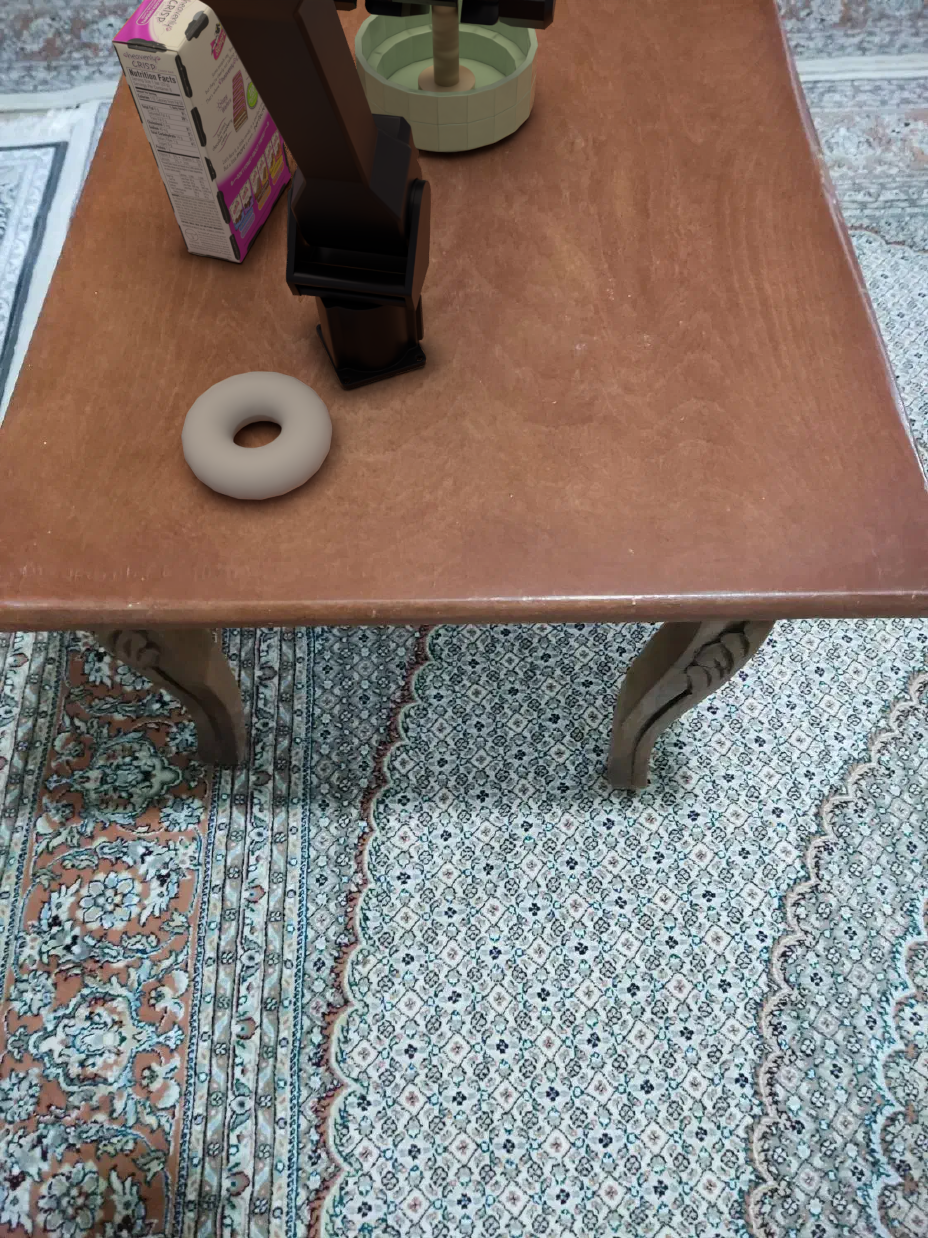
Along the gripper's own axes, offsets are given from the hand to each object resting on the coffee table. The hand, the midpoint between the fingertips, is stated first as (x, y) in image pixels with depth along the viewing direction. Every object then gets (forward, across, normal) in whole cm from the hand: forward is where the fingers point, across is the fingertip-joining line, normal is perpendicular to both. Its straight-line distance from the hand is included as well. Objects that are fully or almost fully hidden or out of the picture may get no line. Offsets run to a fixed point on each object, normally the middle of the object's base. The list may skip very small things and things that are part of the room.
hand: (448, 7), depth 73 cm
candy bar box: (-8, +14, +18) cm, 24 cm away
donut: (-24, +5, +35) cm, 42 cm away
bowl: (+4, 0, +6) cm, 7 cm away
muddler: (+4, 0, +6) cm, 7 cm away
